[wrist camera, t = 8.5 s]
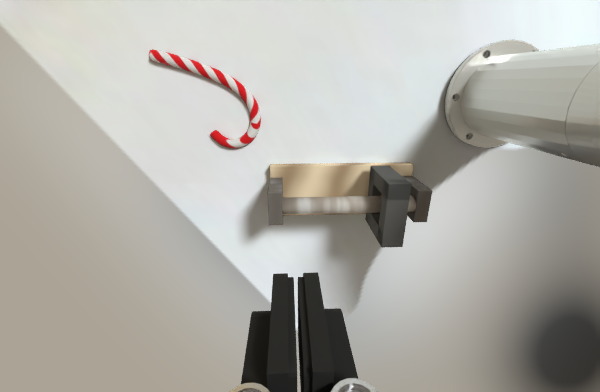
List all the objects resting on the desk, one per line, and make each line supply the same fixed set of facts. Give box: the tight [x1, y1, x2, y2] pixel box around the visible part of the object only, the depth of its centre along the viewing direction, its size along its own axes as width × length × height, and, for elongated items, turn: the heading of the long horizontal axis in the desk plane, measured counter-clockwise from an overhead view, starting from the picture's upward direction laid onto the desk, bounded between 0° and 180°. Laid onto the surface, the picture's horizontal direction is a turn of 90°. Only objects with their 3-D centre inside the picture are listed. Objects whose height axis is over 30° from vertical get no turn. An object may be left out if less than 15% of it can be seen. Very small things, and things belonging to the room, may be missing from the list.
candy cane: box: [149, 50, 261, 148], centre depth 35 cm, size 8×1×15 cm
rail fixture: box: [268, 163, 432, 225], centre depth 37 cm, size 19×7×7 cm, turn 90°
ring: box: [366, 166, 412, 247], centre depth 35 cm, size 2×8×7 cm, turn 0°
